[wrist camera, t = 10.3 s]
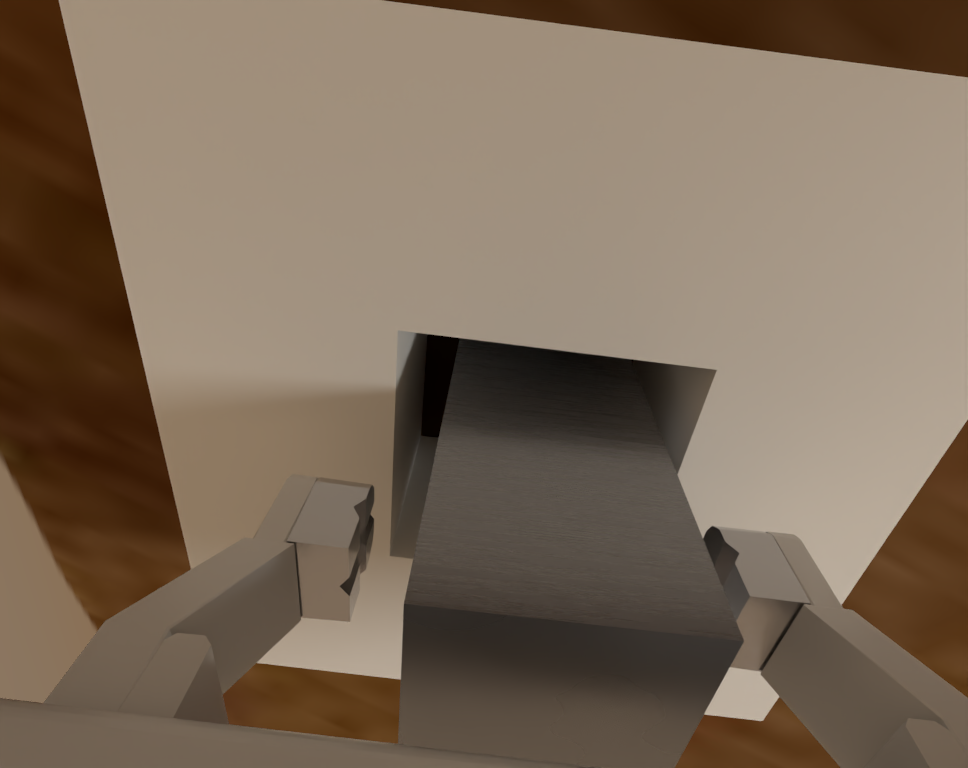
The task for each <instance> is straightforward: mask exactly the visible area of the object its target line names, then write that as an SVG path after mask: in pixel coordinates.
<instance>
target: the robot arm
mask: <svg viewBox="0 0 968 768" xmlns="http://www.w3.org/2000/svg"><path fill="white" fill-rule="evenodd" d="M373 504H374V486H373V485H371V484H364V483H357V482H350V481H343V480H336V479H329V478H322V477H320V478H318V477H311V476H305V475H298V474H292V475H291V476H290V477H288V478H287V479H286V481H285V483H284V484H283V486H282V488H281V490H280V491H279V493H278V495H277V497H276V499H275V500H274V502H273V504H272V506H271V507H270V509H269V511H268V513H267V514H266V516H265V518H264V520H263V521H262V523H261V525H260V527H259V528H258V530H257V532H256V534H255V535H254V537H253V538H243V539H241V540H239V541H238V542H236V543H234V544H233V545H231V546H229V547H228V548H226V549H224V550H223V551H221V552H219V553H218V554H216V555H214V556H213V557H211V558H209V559H208V560H206V561H204V562H203V563H201V564H199V565H198V566H196V567H194V568H193V569H191V570H189V571H188V572H186V573H184V574H183V575H181V576H179V577H178V578H176V579H174V580H173V581H171V582H169V583H168V584H166V585H164V586H163V587H161V588H159V589H158V590H156V591H154V592H153V593H151V594H149V595H148V596H146V597H144V598H143V599H141V600H139V601H138V602H136V603H134V604H133V605H131V606H130V607H128V608H126V609H125V610H123V611H121V612H120V613H118V614H116V615H115V616H113V617H111V618H110V619H108V620H106V621H105V622H104V623H103V625H102V626H101V627H100V629H99V630H98V631H97V633H96V634H95V635H94V637H93V638H92V639H91V641H90V642H89V643H88V645H87V646H86V647H85V649H84V650H83V651H82V652H81V654H80V655H79V656H78V658H77V659H76V660H75V662H74V663H73V665H72V666H71V667H70V668H69V670H68V671H67V672H66V674H65V675H64V676H63V678H62V679H61V681H60V682H59V683H58V684H57V686H56V687H55V688H54V690H53V691H52V692H51V694H50V695H49V696H48V698H47V699H46V700H45V702H44V703H38V702H29V701H20V700H11V699H3V698H0V768H603V767H594V766H585V765H576V764H568V763H559V762H550V761H541V760H533V759H524V758H515V757H506V756H498V755H489V754H480V753H471V752H463V751H454V750H445V749H436V748H428V747H419V746H410V745H402V744H393V743H384V742H376V741H367V740H358V739H350V738H341V737H332V736H324V735H315V734H306V733H298V732H289V731H280V730H272V729H263V728H254V727H246V726H237V725H229V722H228V718H227V713H226V709H225V704H224V700H223V696H222V695H223V694H224V693H225V692H226V691H227V690H228V689H229V688H230V687H231V686H232V685H233V684H234V683H235V682H237V681H238V680H239V679H240V678H241V677H242V676H243V675H244V674H245V673H246V672H247V671H248V670H249V669H250V668H251V667H252V666H253V665H255V664H256V663H257V662H258V661H259V660H260V659H261V658H262V657H263V656H264V655H265V654H266V653H267V652H268V651H269V650H270V649H272V648H273V647H274V646H275V645H276V644H277V643H278V642H279V641H280V640H281V639H282V638H283V637H284V636H285V635H286V634H287V633H288V632H290V631H291V630H292V629H293V628H294V627H295V626H296V625H297V624H298V623H299V622H300V621H301V618H311V619H322V620H334V621H345V622H350V620H351V617H352V614H353V610H354V607H355V604H356V601H357V597H358V594H359V591H360V574H361V573H362V572H364V571H365V570H366V568H367V564H368V561H369V557H370V552H371V547H372V542H373V533H374V518H373V517H372V516H371V510H372V507H373ZM703 540H704V542H705V545H706V547H707V550H708V552H709V555H710V557H711V560H712V562H713V565H714V567H715V570H716V572H717V575H718V577H719V580H720V582H721V585H722V587H723V590H724V592H725V595H726V597H727V600H728V602H729V605H730V607H731V610H732V612H733V615H734V617H735V620H736V622H737V625H738V627H739V630H740V632H741V635H742V637H743V640H744V642H743V644H742V646H741V648H740V650H739V651H738V653H737V655H736V657H735V659H734V661H733V662H732V664H731V666H730V667H732V668H739V669H746V670H753V671H759V672H761V676H762V677H763V678H764V679H765V680H766V681H767V682H768V684H769V685H770V686H771V687H772V688H773V689H774V691H775V692H776V693H777V694H778V695H779V696H780V698H781V699H782V700H783V701H784V702H785V703H786V705H787V706H788V707H789V708H790V709H791V710H792V711H793V713H794V714H795V715H796V716H797V717H798V718H799V720H800V721H801V722H802V723H803V724H804V725H805V727H806V728H807V729H808V730H809V731H810V732H811V734H812V735H813V736H814V737H815V738H816V739H817V740H818V742H819V743H820V744H821V745H822V746H823V747H824V749H825V750H826V751H827V752H828V753H829V754H830V756H831V757H832V758H833V759H834V760H835V761H836V763H837V764H838V765H839V766H840V767H841V768H968V698H967V697H966V696H964V695H963V694H962V693H961V692H959V691H958V690H957V689H955V688H954V687H953V686H951V685H950V684H949V683H947V682H946V681H945V680H943V679H942V678H941V677H940V676H938V675H937V674H936V673H934V672H933V671H932V670H930V669H929V668H928V667H926V666H925V665H924V664H922V663H921V662H920V661H919V660H917V659H916V658H915V657H913V656H912V655H911V654H909V653H908V652H907V651H905V650H904V649H903V648H901V647H900V646H899V645H898V644H896V643H895V642H894V641H892V640H891V639H890V638H888V637H887V636H886V635H884V634H883V633H882V632H880V631H879V630H878V629H877V628H875V627H874V626H873V625H871V624H870V623H869V622H867V621H866V620H865V619H863V618H862V617H861V616H859V615H858V614H857V613H856V612H854V611H853V610H848V609H843V607H842V606H841V604H840V602H839V601H838V599H837V597H836V596H835V594H834V593H833V591H832V589H831V588H830V586H829V584H828V583H827V581H826V580H825V578H824V576H823V575H822V573H821V572H820V570H819V568H818V567H817V565H816V563H815V562H814V560H813V559H812V557H811V555H810V554H809V552H808V550H807V549H806V547H805V546H804V544H803V542H802V541H801V539H799V538H798V537H797V536H796V535H794V534H786V533H776V532H763V531H754V530H745V529H737V528H728V527H719V526H711V527H710V528H709V529H708V530H707V531H706V533H705V536H704V538H703Z"/></svg>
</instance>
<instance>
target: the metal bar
mask: <svg viewBox="0 0 968 768" xmlns="http://www.w3.org/2000/svg"><path fill="white" fill-rule="evenodd" d="M743 642H744V640H743V637H742V635H741V632H740V630H739V627H738V625H737V622H736V620H735V617H734V615H733V612H732V610H731V607H730V605H729V602H728V600H727V597H726V595H725V592H724V590H723V587H722V585H721V582H720V580H719V577H718V575H717V572H716V570H715V567H714V565H713V562H712V560H711V557H710V555H709V552H708V550H707V547H706V545H705V542H704V540H703V538H702V535H701V533H700V530H699V528H698V525H697V523H696V520H695V518H694V515H693V513H692V510H691V508H690V505H689V503H688V500H687V498H686V495H685V493H684V490H683V488H682V485H681V483H680V480H679V478H678V475H677V473H676V470H675V468H674V465H673V463H672V460H671V458H670V455H669V453H668V450H667V448H666V445H665V443H664V440H663V438H662V435H661V433H660V430H659V428H658V425H657V423H656V420H655V418H654V416H653V413H652V411H651V408H650V406H649V403H648V401H647V398H646V396H645V393H644V391H643V388H642V386H641V383H640V381H639V378H638V376H637V373H636V371H635V368H634V366H633V363H632V361H631V359H625V358H617V357H609V356H601V355H593V354H585V353H576V352H568V351H560V350H552V349H544V348H536V347H528V346H520V345H512V344H504V343H496V342H488V341H480V340H472V339H463V338H460V339H459V344H458V349H457V353H456V358H455V363H454V368H453V372H452V377H451V382H450V387H449V391H448V396H447V401H446V406H445V410H444V415H443V420H442V425H441V429H440V434H439V439H438V444H437V448H436V453H435V458H434V463H433V467H432V472H431V477H430V482H429V486H428V491H427V496H426V501H425V505H424V510H423V515H422V520H421V524H420V529H419V534H418V539H417V543H416V548H415V553H414V558H413V562H412V567H411V572H410V577H409V581H408V586H407V591H406V596H405V600H404V611H403V637H402V662H401V687H400V712H399V737H398V744H402V745H410V746H419V747H428V748H436V749H445V750H454V751H463V752H471V753H480V754H489V755H498V756H506V757H515V758H524V759H533V760H541V761H550V762H559V763H568V764H576V765H585V766H594V767H603V768H675V766H676V764H677V762H678V760H679V759H680V757H681V755H682V753H683V751H684V750H685V748H686V746H687V744H688V742H689V740H690V739H691V737H692V735H693V733H694V731H695V730H696V728H697V726H698V724H699V722H700V720H701V719H702V717H703V715H704V713H705V711H706V710H707V708H708V706H709V704H710V702H711V700H712V699H713V697H714V695H715V693H716V691H717V690H718V688H719V686H720V684H721V682H722V681H723V679H724V677H725V675H726V673H727V671H728V670H729V668H730V666H731V664H732V662H733V661H734V659H735V657H736V655H737V653H738V651H739V650H740V648H741V646H742V644H743Z"/></svg>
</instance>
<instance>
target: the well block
mask: <svg viewBox="0 0 968 768" xmlns="http://www.w3.org/2000/svg"><path fill="white" fill-rule="evenodd" d="M59 4H60V9H61V13H62V17H63V21H64V26H65V30H66V34H67V39H68V43H69V47H70V51H71V56H72V60H73V64H74V69H75V73H76V77H77V82H78V86H79V90H80V94H81V99H82V103H83V107H84V112H85V116H86V120H87V124H88V129H89V133H90V137H91V142H92V146H93V150H94V155H95V159H96V163H97V167H98V172H99V176H100V180H101V185H102V189H103V193H104V197H105V202H106V206H107V210H108V215H109V219H110V223H111V228H112V232H113V236H114V240H115V245H116V249H117V253H118V258H119V262H120V266H121V270H122V275H123V279H124V283H125V288H126V292H127V296H128V301H129V305H130V309H131V313H132V318H133V322H134V326H135V331H136V335H137V339H138V343H139V348H140V352H141V356H142V361H143V365H144V369H145V374H146V378H147V382H148V386H149V391H150V395H151V399H152V404H153V408H154V412H155V416H156V421H157V425H158V429H159V434H160V438H161V442H162V447H163V451H164V455H165V459H166V464H167V468H168V472H169V477H170V481H171V485H172V489H173V494H174V498H175V502H176V507H177V511H178V515H179V520H180V524H181V528H182V532H183V537H184V541H185V545H186V550H187V554H188V558H189V562H190V567H191V569H193V568H194V567H196V566H198V565H199V564H201V563H203V562H204V561H206V560H208V559H209V558H211V557H213V556H214V555H216V554H218V553H219V552H221V551H223V550H224V549H226V548H228V547H229V546H231V545H233V544H234V543H236V542H238V541H239V540H241V539H243V538H253V537H254V535H255V534H256V532H257V530H258V528H259V527H260V525H261V523H262V521H263V520H264V518H265V516H266V514H267V513H268V511H269V509H270V507H271V506H272V504H273V502H274V500H275V499H276V497H277V495H278V493H279V491H280V490H281V488H282V486H283V484H284V483H285V481H286V479H287V478H288V477H290V476H291V475H292V474H298V475H305V476H311V477H318V478H320V477H322V478H329V479H336V480H343V481H350V482H357V483H364V484H371V485H373V486H374V504H373V507H372V510H371V516H372V517H373V518H374V533H373V542H372V547H371V552H370V557H369V561H368V564H367V568H366V570H365V571H364V572H362V573H361V574H360V591H359V594H358V597H357V601H356V604H355V607H354V610H353V614H352V617H351V620H350V622H345V621H334V620H322V619H311V618H301V621H300V622H299V623H298V624H297V625H296V626H295V627H294V628H293V629H292V630H291V631H290V632H288V633H287V634H286V635H285V636H284V637H283V638H282V639H281V640H280V641H279V642H278V643H277V644H276V645H275V646H274V647H273V648H272V649H270V650H269V651H268V652H267V653H266V654H265V655H264V656H263V657H262V658H261V659H260V660H259V661H258V662H257V663H263V664H272V665H280V666H289V667H298V668H306V669H315V670H324V671H332V672H341V673H350V674H359V675H367V676H376V677H385V678H393V679H401V662H402V637H403V611H404V600H405V596H406V591H407V586H408V581H409V577H410V572H411V567H412V562H413V558H414V553H415V548H416V543H417V539H418V534H419V529H420V524H421V520H422V515H423V510H424V505H425V501H426V496H427V491H428V486H429V482H430V477H431V472H432V467H433V463H434V458H435V453H436V448H437V444H438V439H439V438H437V437H429V436H421V427H422V412H423V397H424V382H425V367H426V351H427V336H428V334H431V335H439V336H447V337H455V338H463V339H472V340H480V341H488V342H496V343H504V344H512V345H520V346H528V347H536V348H544V349H552V350H560V351H568V352H576V353H585V354H593V355H601V356H609V357H617V358H625V359H633V360H634V361H633V366H634V368H635V371H636V373H637V376H638V378H639V381H640V383H641V386H642V388H643V391H644V393H645V396H646V398H647V401H648V403H649V406H650V408H651V411H652V413H653V416H654V418H655V420H656V423H657V425H658V428H659V430H660V433H661V435H662V438H663V440H664V443H665V445H666V448H667V450H668V453H669V455H670V458H671V460H672V463H673V465H674V468H675V470H676V473H677V475H678V478H679V480H680V483H681V485H682V488H683V490H684V493H685V495H686V498H687V500H688V503H689V505H690V508H691V510H692V513H693V515H694V518H695V520H696V523H697V525H698V528H699V530H700V533H701V535H702V538H704V536H705V533H706V531H707V530H708V529H709V528H710V527H711V526H719V527H728V528H737V529H745V530H754V531H763V532H776V533H786V534H794V535H796V536H797V537H798V538H799V539H801V541H802V542H803V544H804V546H805V547H806V549H807V550H808V552H809V554H810V555H811V557H812V559H813V560H814V562H815V563H816V565H817V567H818V568H819V570H820V572H821V573H822V575H823V576H824V578H825V580H826V581H827V583H828V584H829V586H830V588H831V589H832V591H833V593H834V594H835V596H836V597H837V599H838V601H839V602H840V604H841V605H842V603H843V602H844V600H845V599H846V598H847V596H848V595H849V593H850V592H851V590H852V589H853V587H854V586H855V584H856V583H857V581H858V580H859V578H860V577H861V575H862V574H863V573H864V571H865V570H866V568H867V567H868V565H869V564H870V562H871V561H872V559H873V558H874V556H875V555H876V553H877V552H878V550H879V549H880V548H881V546H882V545H883V543H884V542H885V540H886V539H887V537H888V536H889V534H890V533H891V531H892V530H893V528H894V527H895V525H896V524H897V523H898V521H899V520H900V518H901V517H902V515H903V514H904V512H905V511H906V509H907V508H908V506H909V505H910V503H911V502H912V500H913V499H914V498H915V496H916V495H917V493H918V492H919V490H920V489H921V487H922V486H923V484H924V483H925V481H926V480H927V478H928V477H929V475H930V474H931V473H932V471H933V470H934V468H935V467H936V465H937V464H938V462H939V461H940V459H941V458H942V456H943V455H944V453H945V452H946V450H947V449H948V448H949V446H950V445H951V443H952V442H953V440H954V439H955V437H956V436H957V434H958V433H959V431H960V430H961V428H962V427H963V425H964V424H965V423H966V421H967V420H968V78H967V77H959V76H951V75H944V74H936V73H929V72H921V71H914V70H906V69H898V68H891V67H883V66H876V65H868V64H861V63H853V62H845V61H838V60H830V59H823V58H815V57H807V56H800V55H792V54H785V53H777V52H770V51H762V50H754V49H747V48H739V47H732V46H724V45H717V44H709V43H701V42H694V41H686V40H679V39H671V38H664V37H656V36H648V35H641V34H633V33H626V32H618V31H611V30H603V29H595V28H588V27H580V26H573V25H565V24H558V23H550V22H542V21H535V20H527V19H520V18H512V17H505V16H497V15H489V14H482V13H474V12H467V11H459V10H452V9H444V8H436V7H429V6H421V5H414V4H406V3H399V2H391V1H383V0H59ZM778 698H779V695H778V694H777V693H776V692H775V691H774V689H773V688H772V687H771V686H770V685H769V684H768V682H767V681H766V680H765V679H764V678H763V677H762V676H761V672H759V671H753V670H746V669H739V668H732V667H730V668H729V670H728V671H727V673H726V675H725V677H724V679H723V681H722V682H721V684H720V686H719V688H718V690H717V691H716V693H715V695H714V697H713V699H712V700H711V702H710V704H709V706H708V708H707V710H706V711H705V713H704V714H706V715H714V716H723V717H732V718H740V719H749V720H758V721H763V720H764V718H765V717H766V715H767V714H768V712H769V711H770V709H771V708H772V706H773V705H774V703H775V702H776V700H777V699H778Z"/></svg>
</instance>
